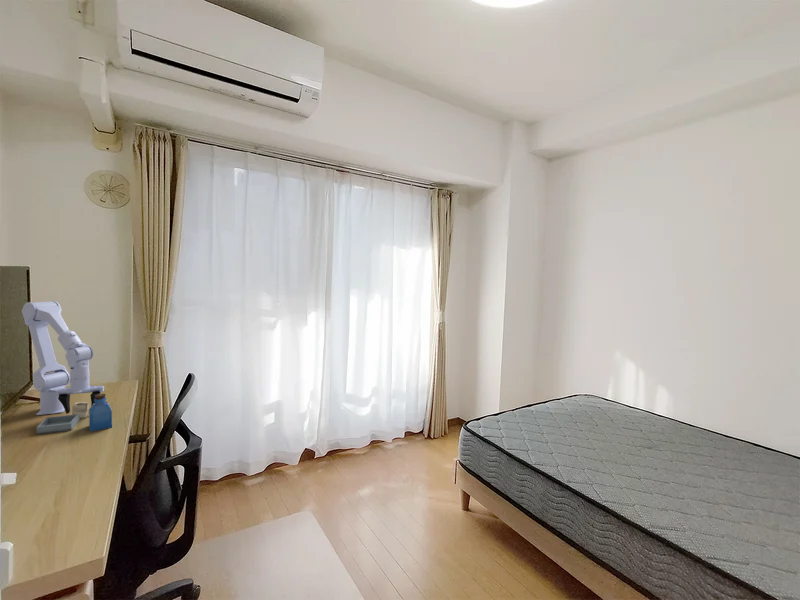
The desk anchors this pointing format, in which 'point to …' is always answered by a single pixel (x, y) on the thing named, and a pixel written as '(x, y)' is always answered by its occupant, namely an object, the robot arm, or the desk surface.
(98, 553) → the desk surface
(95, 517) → the desk surface
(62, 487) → the desk surface
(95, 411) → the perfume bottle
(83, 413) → the bored block
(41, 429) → the tray
